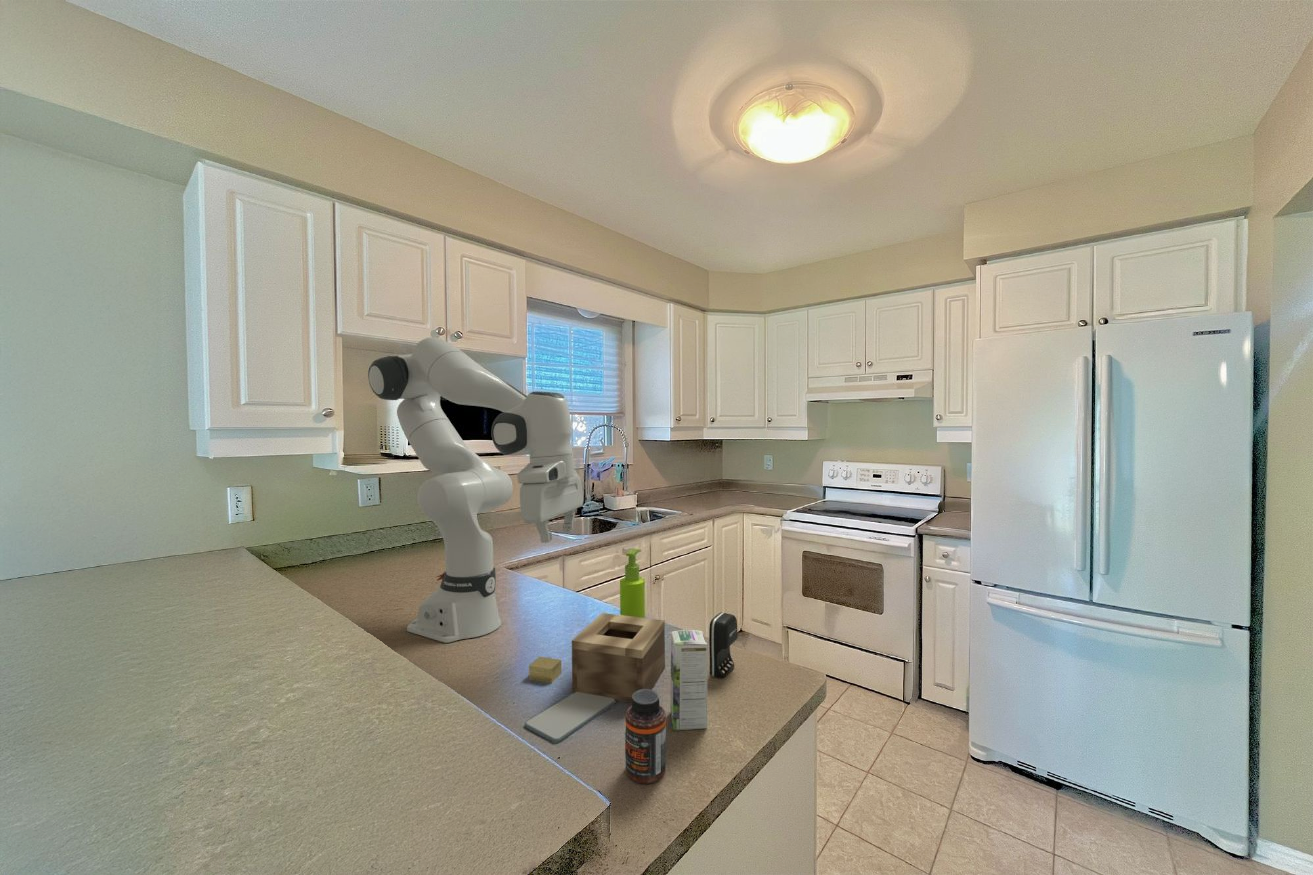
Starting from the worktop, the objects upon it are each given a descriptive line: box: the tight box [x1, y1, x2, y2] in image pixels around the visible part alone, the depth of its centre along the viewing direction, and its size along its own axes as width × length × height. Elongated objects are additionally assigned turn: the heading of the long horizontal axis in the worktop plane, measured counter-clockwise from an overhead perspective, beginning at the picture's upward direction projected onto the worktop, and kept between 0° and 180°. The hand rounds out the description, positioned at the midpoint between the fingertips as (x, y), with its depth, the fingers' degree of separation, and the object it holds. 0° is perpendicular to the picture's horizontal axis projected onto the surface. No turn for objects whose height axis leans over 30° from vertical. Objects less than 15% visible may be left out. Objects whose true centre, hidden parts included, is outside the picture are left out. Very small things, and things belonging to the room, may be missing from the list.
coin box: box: [571, 612, 666, 704], centre depth 99 cm, size 14×14×10 cm
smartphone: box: [524, 692, 617, 744], centre depth 88 cm, size 8×1×15 cm
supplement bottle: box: [624, 689, 667, 785], centre depth 73 cm, size 6×6×11 cm
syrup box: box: [670, 629, 709, 731], centre depth 86 cm, size 6×6×14 cm
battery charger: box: [708, 612, 739, 679], centre depth 102 cm, size 7×4×11 cm, turn 149°
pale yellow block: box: [528, 656, 562, 684], centre depth 101 cm, size 5×4×3 cm
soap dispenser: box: [619, 548, 646, 618], centre depth 121 cm, size 6×7×20 cm
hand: (557, 536), depth 104 cm, fingers open, 8 cm apart
